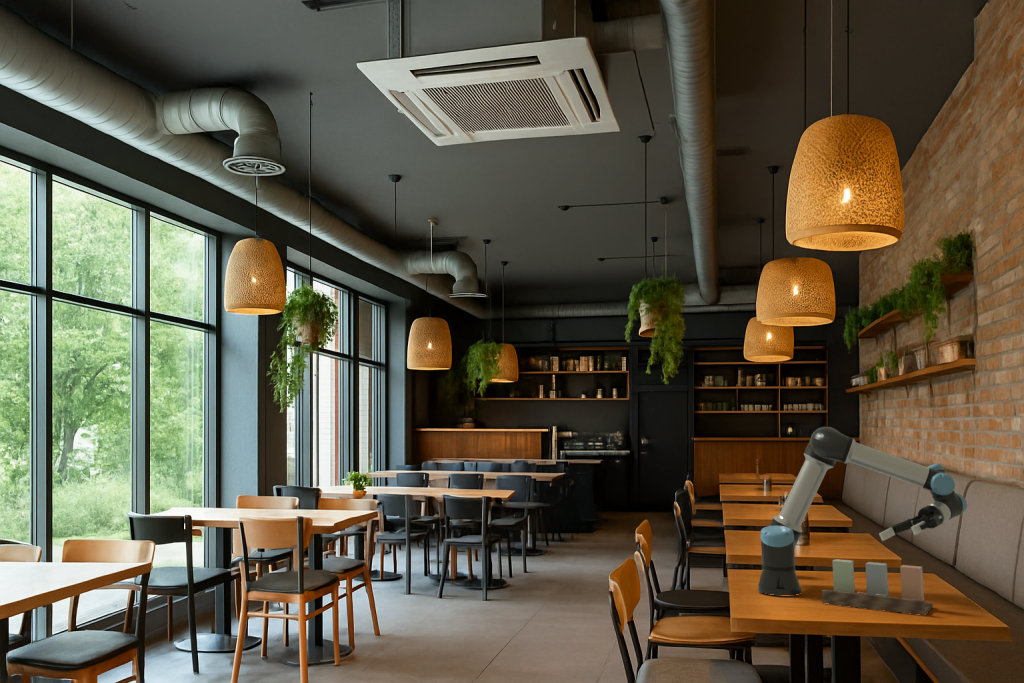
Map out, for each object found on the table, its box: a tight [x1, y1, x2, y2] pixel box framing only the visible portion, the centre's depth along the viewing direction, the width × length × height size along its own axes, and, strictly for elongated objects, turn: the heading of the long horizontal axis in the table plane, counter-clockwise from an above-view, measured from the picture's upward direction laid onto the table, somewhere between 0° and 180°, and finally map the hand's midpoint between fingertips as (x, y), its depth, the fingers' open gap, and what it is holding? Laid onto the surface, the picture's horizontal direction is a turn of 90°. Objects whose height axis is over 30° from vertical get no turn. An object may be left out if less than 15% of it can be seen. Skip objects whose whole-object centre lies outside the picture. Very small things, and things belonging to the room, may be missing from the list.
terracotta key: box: [899, 564, 925, 601], centre depth 272 cm, size 6×4×12 cm, turn 54°
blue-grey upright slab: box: [865, 561, 890, 597], centre depth 278 cm, size 6×4×12 cm, turn 53°
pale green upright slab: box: [831, 558, 856, 593], centre depth 285 cm, size 6×4×12 cm, turn 54°
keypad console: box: [821, 589, 934, 616], centre depth 276 cm, size 32×14×5 cm, turn 53°
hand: (897, 534), depth 278 cm, fingers open, 13 cm apart
